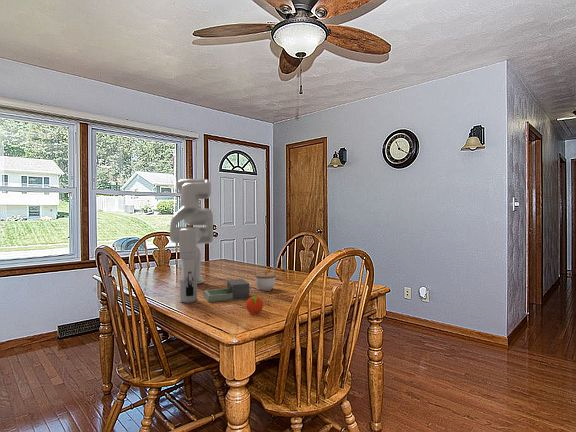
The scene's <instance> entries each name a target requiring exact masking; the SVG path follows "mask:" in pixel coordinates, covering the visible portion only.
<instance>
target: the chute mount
mask: <svg viewBox="0 0 576 432" xmlns="http://www.w3.org/2000/svg"><path fill="white" fill-rule="evenodd" d="M203 294H204V299H206V301H207V303H217V302H226V301H236V300H245V299H247V300H248V299H249V298H250V283H249V282H248V281H246V280H245V279H243V278H240V279H237V278H236V279H227V280H226V288H216V289H205V290H204V293H203Z"/></svg>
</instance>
